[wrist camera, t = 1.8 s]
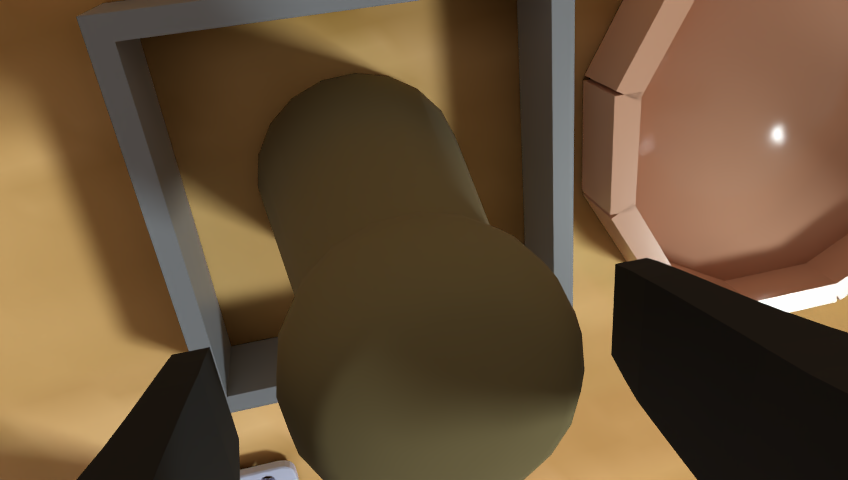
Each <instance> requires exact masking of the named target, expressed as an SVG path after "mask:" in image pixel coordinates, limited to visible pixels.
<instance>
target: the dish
mask: <svg viewBox="0 0 848 480" xmlns="http://www.w3.org/2000/svg"><path fill="white" fill-rule="evenodd" d="M585 76H587V77H589V78H591V79H588V80H583V141H582V191H583V192H584V194H583V195H584V197H585V198H586V200H587V201H588V203H589V204H590V206H591V207H592V209H593V210H594V212H595V214H596V215H597V217H598V218H599V220H600V221H601V223H602V224H603V226H604V227H605V229H606V231H607V232H608V234H609V235H610V237H611V238H612V240H613V241H614V243H615V244H616V246H617V247H618V249H619V251H620V252H621V254H622V255H623V257H624V258H625V260H626V261H627V262H628V261H633V260H638V259H643V258H650V259H653V260H656V261H659V262H662V263H665V264H667V265H670V266H673V267H675V268H678V269H680V270H683V271H685V272H688V273H690V274H693V275H695V276H698V277H700V278H702V279H705V280H707V281H710V282H712V283H715V284H717V285H719V286H722V287H724V288H727V289H729V290H732V291H734V292H737V293H739V294H742V295H744V296H747V297H749V298H751V299H754V300H757V301H759V302H762V303H764V304H767V305H770V306H772V307H775V308H777V309H780V310H783V311H785V312H788V313H789V312H793V311H798V310H802V309H807V308H811V307H815V306H820V305H824V304H829V303H833V302H836V300H837V299H839V300H841V299H842V298H844V297H845V296H847V295H848V0H623V1H622V3H621V5H620V7H619V9H618V11H617V13H616V15H615V17H614V19H613V21H612V23H611V25H610V27H609V29H608V31H607V33H606V35H605V36H604V38H603V40H602V42H601V44H600V46H599V48H598V50H597V52H596V54H595V56H594V58H593V60H592V62H591V64H590V66H589V68H588V70H587V72H586V74H585Z"/></svg>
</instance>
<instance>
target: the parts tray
mask: <svg viewBox="0 0 848 480" xmlns="http://www.w3.org/2000/svg"><path fill="white" fill-rule="evenodd" d="M410 1H417V0H124V1H116V2H108V3H102V4H100V5H98V6H96V7H94V8H92V9H90V10H88V11H86V12H84V13H82V14H80V15H78V16H76V18H77V21H78V24H79V27H80V30H81V33H82V36H83V39H84V42H85V45H86V48H87V50H88V53H89V56H90V59H91V62H92V65H93V68H94V71H95V74H96V77H97V80H98V83H99V86H100V89H101V92H102V95H103V98H104V101H105V104H106V107H107V110H108V113H109V116H110V119H111V122H112V125H113V128H114V131H115V134H116V137H117V140H118V143H119V145H120V148H121V151H122V154H123V157H124V160H125V163H126V166H127V169H128V172H129V175H130V178H131V181H132V184H133V187H134V190H135V193H136V196H137V199H138V202H139V205H140V208H141V211H142V214H143V217H144V220H145V223H146V226H147V229H148V232H149V235H150V238H151V240H152V243H153V246H154V249H155V252H156V255H157V258H158V261H159V264H160V267H161V270H162V273H163V276H164V279H165V282H166V285H167V288H168V291H169V294H170V297H171V300H172V303H173V306H174V309H175V312H176V315H177V318H178V321H179V324H180V327H181V330H182V332H183V335H184V338H185V341H186V344H187V347H188V350H189V351H193V350H198V349H203V348H208V347H210V350H211V353H212V356H213V359H214V362H215V365H216V369H217V372H218V375H219V378H220V381H221V384H222V387H223V391H224V394H225V397H226V400H227V403H228V406H229V409H230V413H232V412H237V411H242V410H246V409H251V408H255V407H260V406H264V405H269V404H273V403H278V400H277V398H276V372H277V350H278V337H275V338H270V339H265V340H260V341H256V342H251V343H246V344H241V345H236V346H231V344H230V340H229V337H228V334H227V330H226V327H225V323H224V320H223V317H222V313H221V310H220V307H219V303H218V300H217V297H216V293H215V290H214V286H213V283H212V280H211V276H210V273H209V270H208V266H207V263H206V260H205V256H204V253H203V249H202V246H201V243H200V239H199V236H198V233H197V229H196V226H195V223H194V219H193V216H192V212H191V209H190V206H189V202H188V199H187V196H186V192H185V189H184V186H183V182H182V179H181V175H180V172H179V169H178V165H177V162H176V159H175V155H174V152H173V149H172V145H171V142H170V139H169V135H168V132H167V128H166V125H165V122H164V118H163V115H162V112H161V108H160V105H159V102H158V98H157V95H156V91H155V88H154V85H153V81H152V78H151V75H150V71H149V68H148V65H147V61H146V58H145V54H144V51H143V48H142V44H141V41H140V38H146V37H154V36H161V35H168V34H176V33H183V32H190V31H198V30H205V29H212V28H220V27H227V26H234V25H242V24H249V23H256V22H264V21H271V20H278V19H285V18H293V17H300V16H307V15H315V14H322V13H329V12H337V11H344V10H351V9H359V8H366V7H373V6H381V5H388V4H395V3H403V2H410ZM517 16H518V47H519V78H520V109H521V141H522V172H523V203H524V234H525V246H526V247H527V248H528V249H529V250H531V251H532V252H533V253H534V254H535V255H536V256H538V257H539V258H540V259H541V260H542V261H543V262H544V263H545V264H546V265H547V266H548V267H549V269H550V270H551V271H552V272H553V273H554V274H555V276H556V277H557V278H558V280H559V282H560V284H561V286H562V288H563V290H564V292H565V294H566V296H567V298H568V300H569V302H570V303H571V305H572V307H573V193H574V58H575V0H517Z"/></svg>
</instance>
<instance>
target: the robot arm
mask: <svg viewBox="0 0 848 480" xmlns="http://www.w3.org/2000/svg"><path fill="white" fill-rule="evenodd" d="M611 355H612V357H613V358H614V360H615V362H616V364H617V366H618V368H619V370H620V371H621V373H622V375H623V377H624V379H625V381H626V382H627V384H628V386H629V387H630V389H631V391H632V392H633V394H634V396H635V398H636V399H637V401H638V402H639V404H640V405H641V406H642V408H643V409H644V410H645V412H646V413H647V414H648V416H649V417H650V418H651V420H652V421H653V422H654V424H655V425H656V426H657V428H658V429H659V430H660V432H661V433H662V434H663V436H664V437H665V438H666V440H667V441H668V442H669V443H670V445H671V446H672V447H673V449H674V450H675V451H676V453H677V454H678V455H679V456H680V458H681V459H682V460H683V462H684V463H685V464H686V466H687V467H688V468H689V469H690V471H691V472H692V473H693V475H694V476H695V477H696V479H697V480H848V333H847V332H844V331H841V330H838V329H834V328H831V327H828V326H825V325H822V324H820V323H817V322H814V321H811V320H808V319H805V318H802V317H800V316H797V315H794V314H791V313H788V312H785V311H783V310H780V309H777V308H775V307H772V306H770V305H767V304H764V303H762V302H759V301H757V300H754V299H751V298H749V297H747V296H744V295H742V294H739V293H737V292H734V291H732V290H729V289H727V288H724V287H722V286H719V285H717V284H715V283H712V282H710V281H707V280H705V279H702V278H700V277H698V276H695V275H693V274H690V273H688V272H685V271H683V270H680V269H678V268H675V267H673V266H670V265H667V264H665V263H662V262H659V261H656V260H653V259H650V258H643V259H638V260H633V261H628V262H623V263H618V264H615V286H614V309H613V331H612V354H611ZM265 476H272V477H271V478H263V477H265ZM77 480H299V478H298V474H297V471H296V467H295V465H294V464H293V463H292V462H290V461H286V460H280V461H275V462H271V463H267V464H262V465H258V466H254V467H250V468H245V469H241V470H240V460H239V438H238V435H237V431H236V428H235V425H234V422H233V419H232V416H231V413H230V409H229V406H228V403H227V400H226V397H225V394H224V391H223V387H222V384H221V381H220V378H219V375H218V372H217V369H216V365H215V362H214V359H213V356H212V353H211V350H210V347H208V348H203V349H198V350H193V351H188V352H183V353H178V354H173V355H171V357H170V358H169V359H168V361H167V362H166V363H165V365H164V366H163V367H162V369H161V370H160V371H159V373H158V374H157V376H156V377H155V378H154V380H153V381H152V382H151V384H150V385H149V387H148V388H147V389H146V391H145V392H144V394H143V395H142V396H141V398H140V399H139V401H138V402H137V403H136V405H135V406H134V407H133V409H132V410H131V412H130V413H129V414H128V416H127V417H126V418H125V420H124V421H123V422H122V424H121V425H120V426H119V428H118V429H117V430H116V432H115V433H114V434H113V435H112V437H111V438H110V439H109V441H108V442H107V443H106V445H105V446H104V447H103V449H102V450H101V451H100V452H99V453H98V455H97V456H96V457H95V458H94V459H93V461H92V462H91V463H90V464H89V465H88V467H87V468H86V469H85V470H84V471H83V473H82V474H81V475H80V476H79V478H78V479H77Z"/></svg>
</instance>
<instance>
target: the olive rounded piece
mask: <svg viewBox="0 0 848 480" xmlns="http://www.w3.org/2000/svg"><path fill="white" fill-rule="evenodd" d="M258 188H259V191H260V194H261V197H262V200H263V203H264V206H265V209H266V212H267V215H268V218H269V221H270V224H271V227H272V230H273V233H274V236H275V239H276V242H277V245H278V248H279V251H280V254H281V257H282V260H283V263H284V266H285V269H286V272H287V275H288V278H289V281H290V283H291V286H292V289H293V292H294V295H295V297H294V299H293V302H292V304H291V306H290V308H289V311H288V313H287V315H286V317H285V320H284V322H283V324H282V327H281V329H280V331H279V333H278V350H277V372H276V398H277V400H278V403H279V406H280V408H281V411H282V414H283V416H284V419H285V422H286V424H287V427H288V430H289V432H290V435H291V437H292V439H293V442H294V444H295V447H296V449H297V451H298V454H299V455H300V456H301V457H302V458H303V459H304V460H305V461H306V462H307V463H308V464H309V466H310V467H311V468H312V469H313V470H314V471H315V472H316V473H317V474H318V475H319V476H320V477H321V478H322V479H323V480H524V479H525V478H526V477H527V476H528V475H530V474H531V473H532V472H533V471H534V470H535V469H536V468H537V467H538V466H539V465H541V464H542V463H543V462H544V461H545V460H546V459H547V458H548V457H549V456H550V455H551V454H552V453H553V451H554V450H555V448H556V447H557V445H558V444H559V442H560V440H561V439H562V437H563V436H564V434H565V433H566V431H567V430H568V428H569V427H570V425H571V423H572V420H573V416H574V413H575V409H576V406H577V402H578V399H579V396H580V392H581V387H582V381H583V376H584V358H583V344H582V333H581V330H580V327H579V323H578V320H577V317H576V314H575V311H574V309H573V307H572V305H571V303H570V302H569V300H568V298H567V296H566V294H565V292H564V290H563V288H562V286H561V284H560V282H559V280H558V278H557V277H556V276H555V274H554V273H553V272H552V271H551V270H550V269H549V267H548V266H547V265H546V264H545V263H544V262H543V261H542V260H541V259H540V258H539V257H538V256H536V255H535V254H534V253H533V252H532V251H531V250H529V249H528V248H527V247H526V246H525V245H524V244H522V243H521V242H520V241H519V240H518V239H517V238H515V237H514V236H513V235H511V234H509V233H507V232H505V231H503V230H500V229H498V228H496V227H493V226H491V225H490V224H489V222H488V219H487V217H486V214H485V212H484V209H483V206H482V204H481V201H480V199H479V196H478V194H477V191H476V189H475V186H474V184H473V181H472V178H471V176H470V173H469V171H468V168H467V166H466V163H465V161H464V158H463V156H462V153H461V150H460V148H459V145H458V143H457V140H456V138H455V136H454V134H453V132H452V130H451V128H450V126H449V125H448V123H447V121H446V119H445V117H444V115H443V113H442V111H441V110H440V109H439V108H438V107H437V106H436V105H434V104H433V103H432V102H431V101H430V100H429V99H428V98H427V97H426V96H425V95H424V94H422V93H421V92H420V91H419V90H418V89H416V88H414V87H411V86H409V85H407V84H405V83H402V82H400V81H398V80H396V79H393V78H391V77H389V76H380V75H369V74H358V73H353V74H349V75H345V76H340V77H336V78H332V79H327V80H323V81H320V82H319V83H317V84H315V85H314V86H312V87H310V88H309V89H307V90H305V91H304V92H302V93H300V94H299V95H297V96H295V97H294V98H292V99H291V100H290V101H289V103H288V104H287V105H286V106H285V107H284V109H283V110H282V111H281V112H280V113H279V115H278V116H277V117H276V118H275V119H274V120H273V122H272V123H271V124H270V126H269V129H268V131H267V134H266V137H265V139H264V142H263V144H262V147H261V150H260V152H259V158H258Z"/></svg>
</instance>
